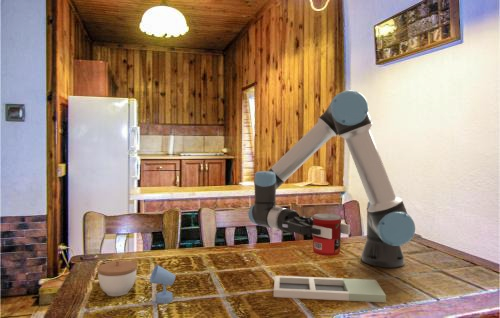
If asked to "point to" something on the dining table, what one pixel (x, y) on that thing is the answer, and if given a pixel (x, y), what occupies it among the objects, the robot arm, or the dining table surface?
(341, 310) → the dining table surface
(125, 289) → the lidded jar
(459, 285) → the dining table surface
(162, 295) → the spotlight
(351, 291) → the board
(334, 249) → the canned food
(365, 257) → the robot arm
